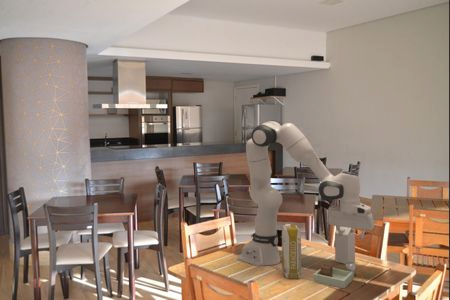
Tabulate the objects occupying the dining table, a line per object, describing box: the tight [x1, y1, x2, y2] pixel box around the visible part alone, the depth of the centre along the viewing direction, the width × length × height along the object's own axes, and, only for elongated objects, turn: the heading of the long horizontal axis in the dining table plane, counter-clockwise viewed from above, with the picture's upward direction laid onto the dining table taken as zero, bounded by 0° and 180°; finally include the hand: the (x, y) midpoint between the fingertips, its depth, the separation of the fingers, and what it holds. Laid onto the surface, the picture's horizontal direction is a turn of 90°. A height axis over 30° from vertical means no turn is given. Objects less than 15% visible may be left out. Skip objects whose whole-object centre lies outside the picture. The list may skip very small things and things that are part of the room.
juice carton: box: [281, 223, 302, 279], centre depth 183 cm, size 9×8×24 cm
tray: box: [312, 267, 355, 289], centre depth 177 cm, size 14×12×3 cm
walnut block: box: [320, 263, 334, 277], centre depth 178 cm, size 4×4×5 cm
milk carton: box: [334, 226, 356, 265], centre depth 199 cm, size 7×7×19 cm
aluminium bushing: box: [345, 262, 357, 277], centre depth 183 cm, size 4×4×5 cm
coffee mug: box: [277, 225, 283, 248], centre depth 229 cm, size 12×9×10 cm
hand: (350, 236), depth 182 cm, fingers open, 8 cm apart
